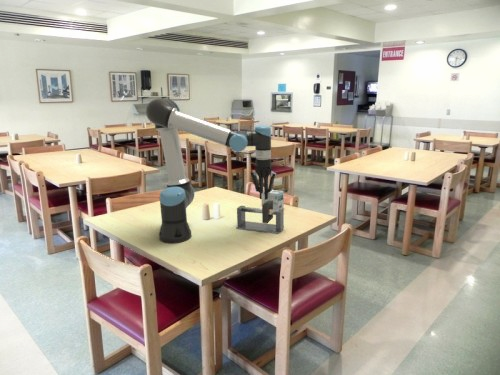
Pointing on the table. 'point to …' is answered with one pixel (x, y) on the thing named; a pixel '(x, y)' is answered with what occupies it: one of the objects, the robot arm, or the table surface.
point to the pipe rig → (260, 226)
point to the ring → (267, 211)
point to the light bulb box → (276, 199)
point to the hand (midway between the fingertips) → (263, 205)
